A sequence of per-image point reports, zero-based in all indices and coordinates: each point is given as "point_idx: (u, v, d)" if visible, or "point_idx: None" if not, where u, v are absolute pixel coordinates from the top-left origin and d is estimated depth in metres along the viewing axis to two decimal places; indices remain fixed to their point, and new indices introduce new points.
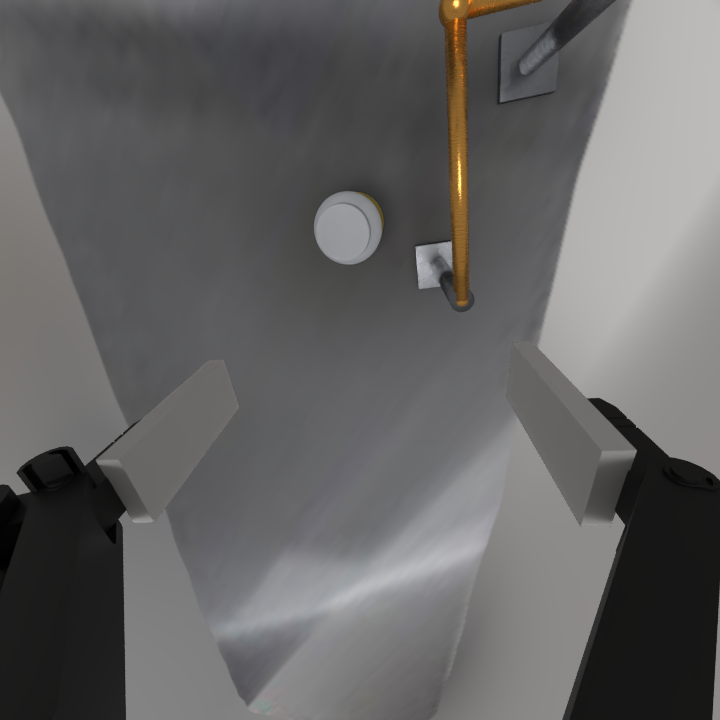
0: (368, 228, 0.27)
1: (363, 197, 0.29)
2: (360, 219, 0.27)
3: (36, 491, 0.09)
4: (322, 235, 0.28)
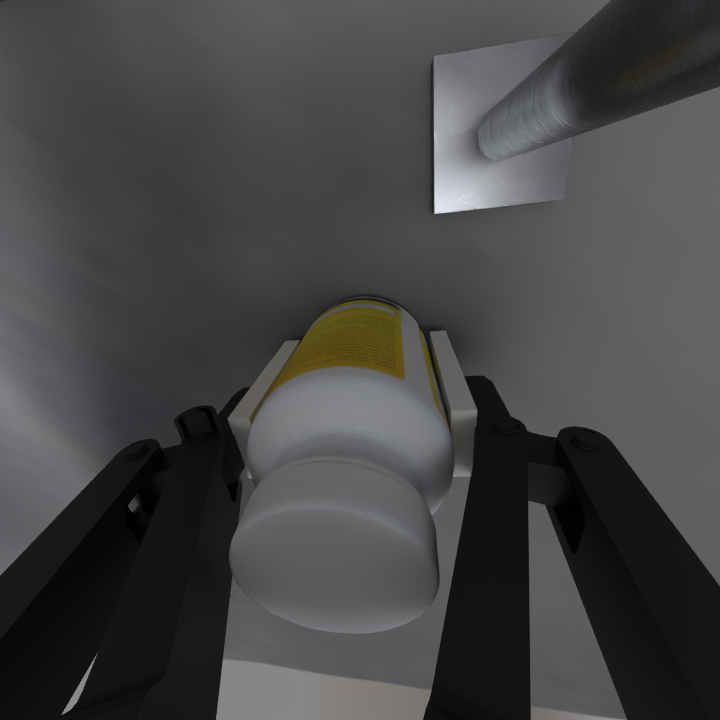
0: (311, 505, 0.06)
1: (255, 423, 0.09)
2: (278, 529, 0.06)
3: (185, 439, 0.10)
4: (338, 621, 0.08)
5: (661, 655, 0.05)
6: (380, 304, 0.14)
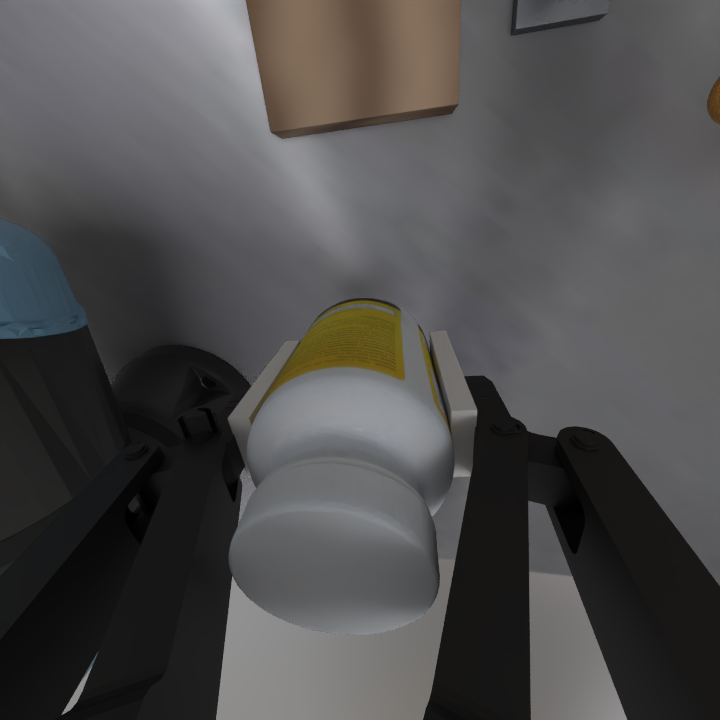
0: (311, 507, 0.06)
1: (255, 424, 0.09)
2: (277, 530, 0.06)
3: (185, 439, 0.10)
4: (338, 623, 0.08)
5: (662, 655, 0.05)
6: (380, 304, 0.14)
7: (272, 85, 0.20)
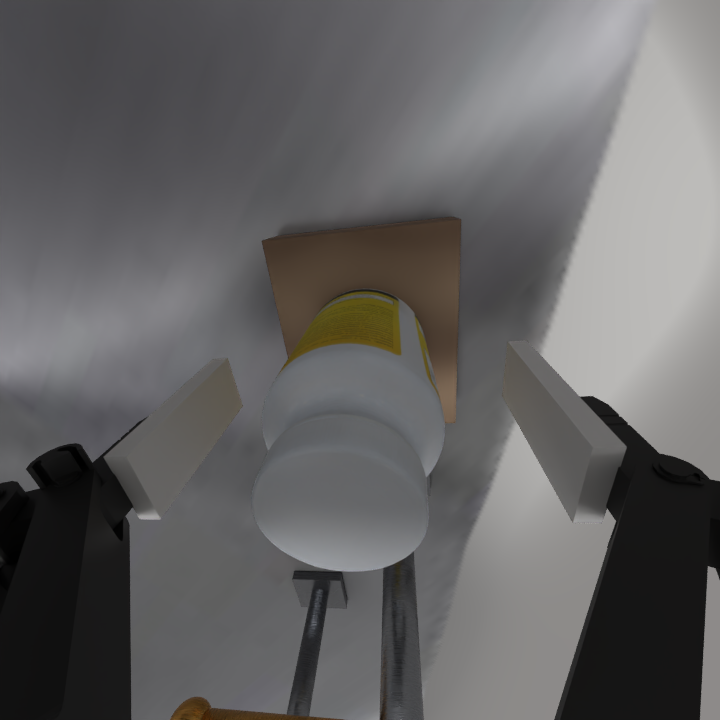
0: (322, 449, 0.07)
1: (270, 394, 0.11)
2: (294, 471, 0.08)
3: (45, 487, 0.09)
4: (343, 560, 0.09)
5: None
6: (380, 295, 0.16)
7: (308, 250, 0.17)
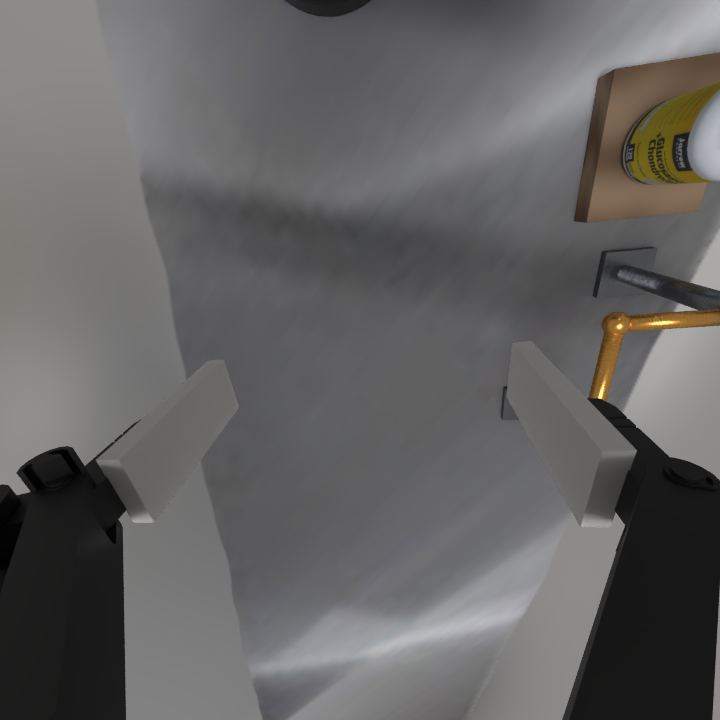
0: None
1: None
2: None
3: (36, 491, 0.09)
4: None
5: None
6: None
7: (643, 74, 0.27)
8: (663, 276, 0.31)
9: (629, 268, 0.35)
